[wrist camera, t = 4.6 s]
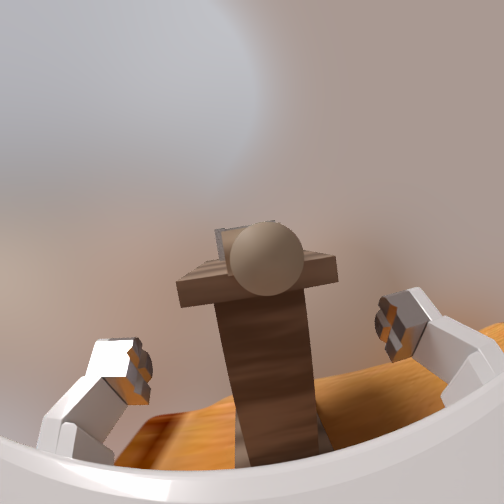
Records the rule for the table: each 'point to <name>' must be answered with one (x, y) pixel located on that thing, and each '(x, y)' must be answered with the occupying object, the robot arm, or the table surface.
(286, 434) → the walnut stand
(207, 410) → the table surface
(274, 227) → the ash rail
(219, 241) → the cup bracket
